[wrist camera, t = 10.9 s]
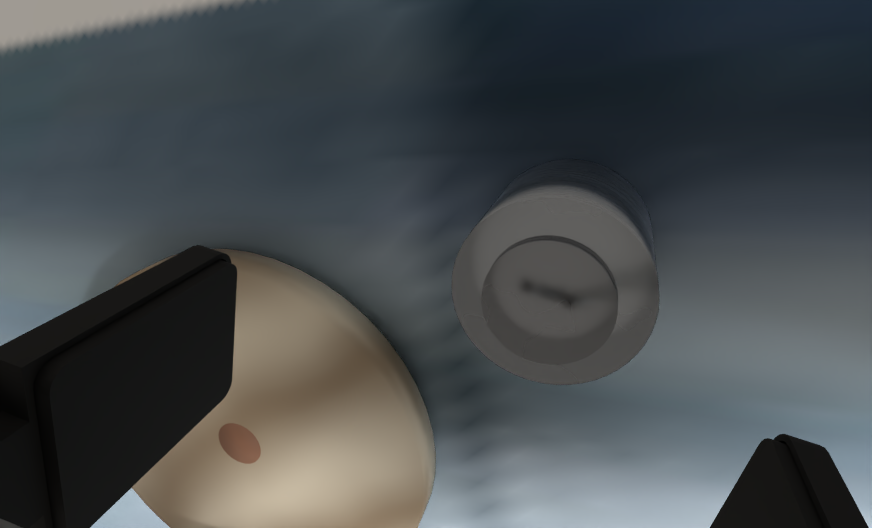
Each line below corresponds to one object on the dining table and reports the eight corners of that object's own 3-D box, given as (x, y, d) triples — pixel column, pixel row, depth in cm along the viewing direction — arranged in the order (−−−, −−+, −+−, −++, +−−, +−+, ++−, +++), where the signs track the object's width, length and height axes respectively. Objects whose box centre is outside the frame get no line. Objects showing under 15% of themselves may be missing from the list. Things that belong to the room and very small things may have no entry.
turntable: (519, 469, 21) (497, 558, 17) (296, 603, 28) (249, 684, 25) (210, 162, 20) (121, 189, 16) (65, 384, 28) (-18, 436, 24)
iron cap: (623, 134, 16) (621, 172, 12) (672, 288, 17) (687, 376, 13) (467, 189, 18) (415, 240, 14) (520, 323, 19) (488, 410, 15)
